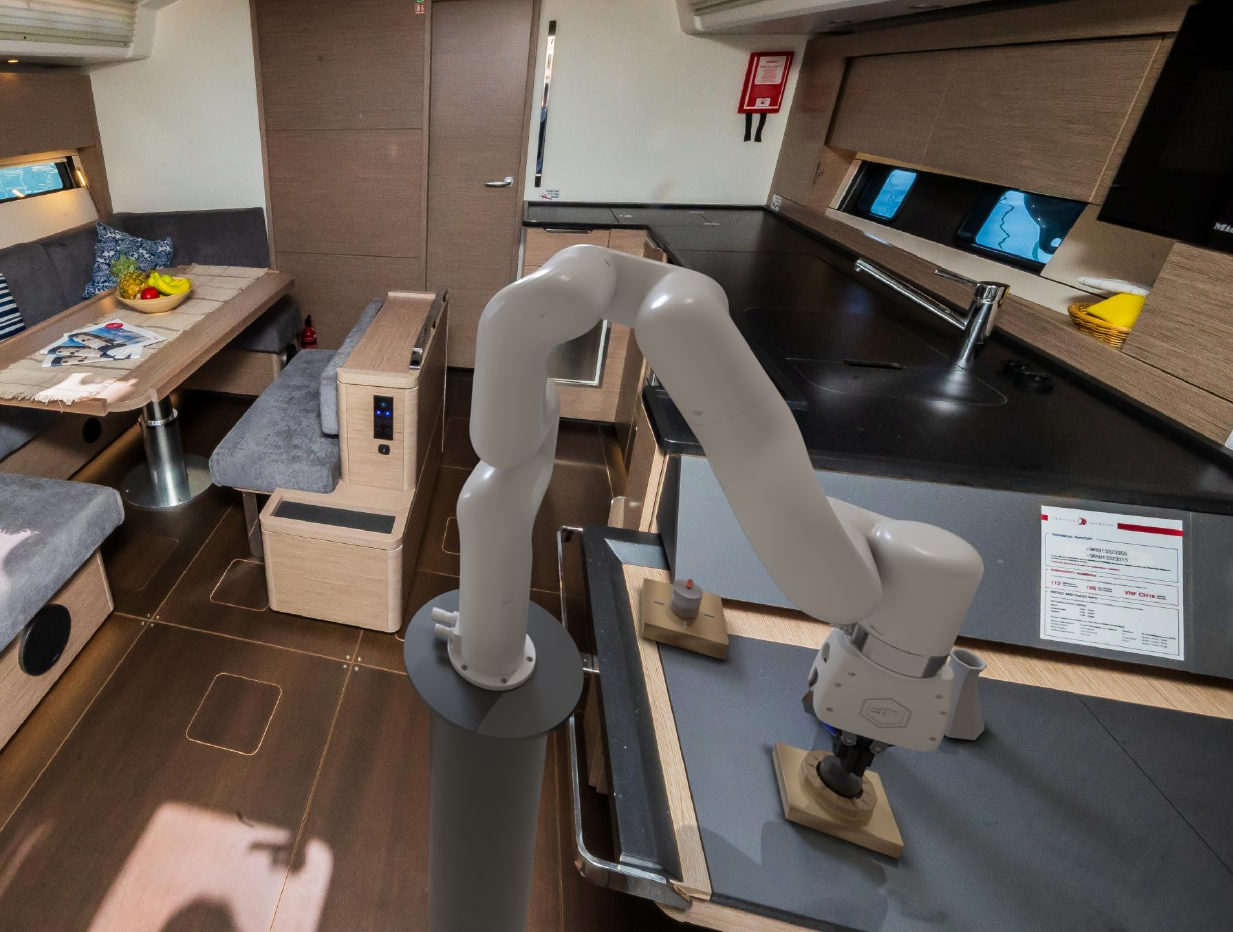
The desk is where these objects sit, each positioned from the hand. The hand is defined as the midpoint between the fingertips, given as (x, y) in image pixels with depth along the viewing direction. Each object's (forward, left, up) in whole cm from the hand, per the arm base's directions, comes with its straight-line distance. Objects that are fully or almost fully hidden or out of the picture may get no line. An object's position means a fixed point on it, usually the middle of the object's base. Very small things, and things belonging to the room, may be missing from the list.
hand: (848, 762), depth 65 cm
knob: (-14, +22, -4) cm, 26 cm away
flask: (+16, +18, -7) cm, 25 cm away
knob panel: (-14, +22, -7) cm, 27 cm away
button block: (0, 0, -7) cm, 7 cm away
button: (0, 0, -3) cm, 3 cm away
